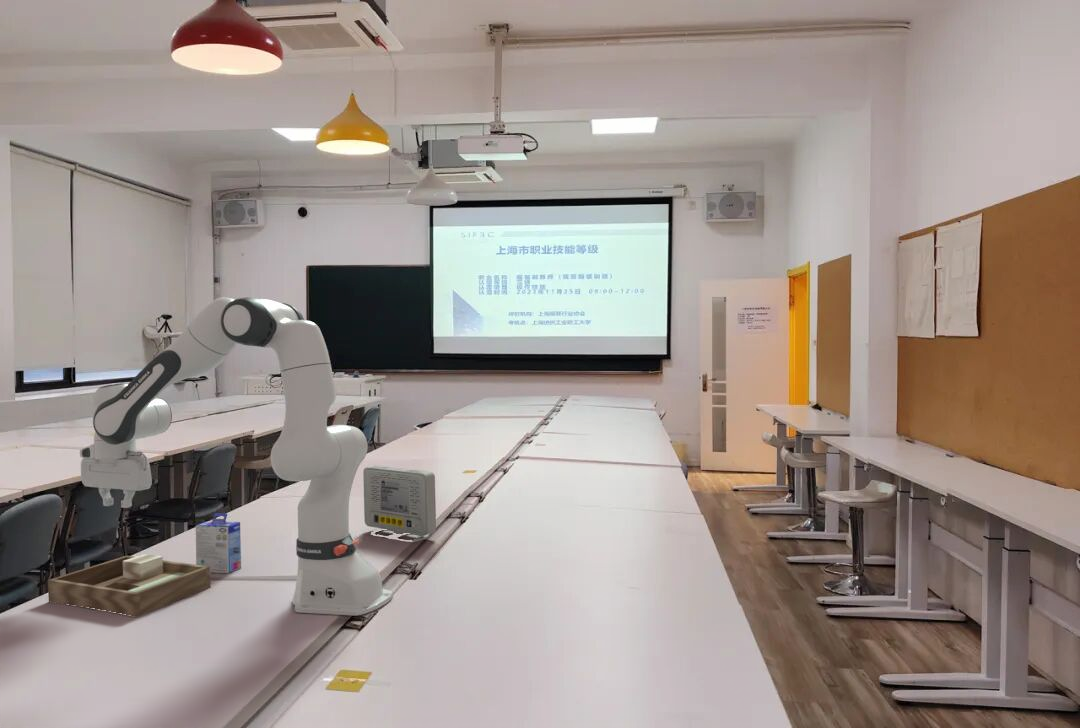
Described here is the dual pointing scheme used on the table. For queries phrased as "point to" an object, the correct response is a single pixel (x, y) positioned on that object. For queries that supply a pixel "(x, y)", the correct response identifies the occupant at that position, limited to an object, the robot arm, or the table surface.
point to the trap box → (128, 587)
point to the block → (142, 567)
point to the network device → (400, 500)
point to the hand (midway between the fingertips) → (117, 506)
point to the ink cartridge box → (219, 545)
